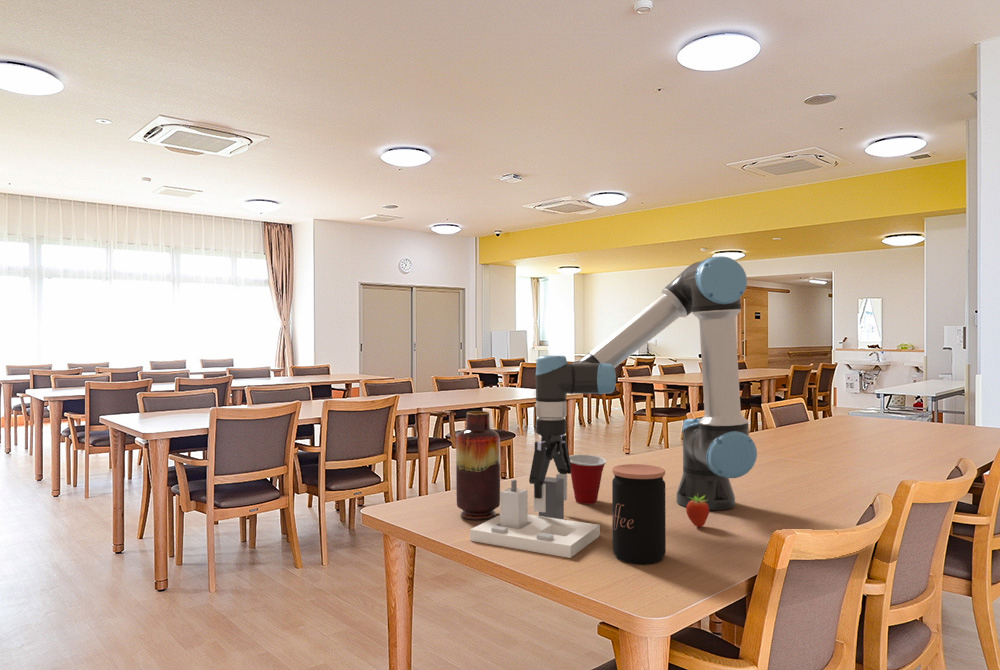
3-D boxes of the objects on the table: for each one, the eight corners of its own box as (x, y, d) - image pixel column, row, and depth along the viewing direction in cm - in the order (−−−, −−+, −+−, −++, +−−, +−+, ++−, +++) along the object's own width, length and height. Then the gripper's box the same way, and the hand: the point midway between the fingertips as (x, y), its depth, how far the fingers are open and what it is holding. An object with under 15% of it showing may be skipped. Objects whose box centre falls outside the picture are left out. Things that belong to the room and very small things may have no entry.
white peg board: (599, 535, 150) (599, 481, 150) (570, 558, 135) (570, 497, 135) (506, 521, 162) (506, 470, 162) (470, 540, 147) (470, 484, 147)
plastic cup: (586, 508, 173) (586, 463, 173) (558, 500, 182) (558, 457, 182) (615, 502, 180) (615, 458, 180) (587, 494, 188) (586, 452, 188)
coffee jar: (606, 549, 141) (606, 464, 141) (655, 547, 142) (655, 463, 142) (620, 566, 130) (619, 475, 130) (673, 564, 131) (672, 474, 131)
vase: (467, 523, 160) (467, 416, 160) (449, 513, 170) (449, 411, 170) (507, 517, 165) (507, 413, 165) (488, 507, 175) (487, 409, 175)
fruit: (705, 531, 153) (705, 497, 153) (683, 528, 156) (683, 494, 156) (711, 525, 157) (711, 492, 157) (690, 522, 160) (690, 489, 160)
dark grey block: (563, 519, 164) (563, 478, 164) (556, 523, 160) (556, 482, 160) (546, 516, 166) (546, 476, 166) (538, 521, 162) (538, 480, 162)
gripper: (557, 412, 175) (557, 493, 175) (514, 422, 154) (514, 515, 154) (583, 413, 172) (583, 496, 172) (543, 424, 150) (543, 519, 150)
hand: (551, 505), depth 163 cm, fingers open, 12 cm apart
